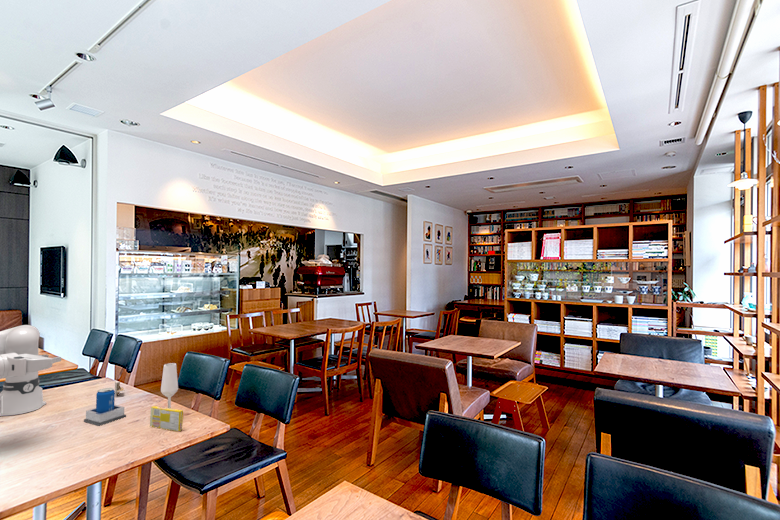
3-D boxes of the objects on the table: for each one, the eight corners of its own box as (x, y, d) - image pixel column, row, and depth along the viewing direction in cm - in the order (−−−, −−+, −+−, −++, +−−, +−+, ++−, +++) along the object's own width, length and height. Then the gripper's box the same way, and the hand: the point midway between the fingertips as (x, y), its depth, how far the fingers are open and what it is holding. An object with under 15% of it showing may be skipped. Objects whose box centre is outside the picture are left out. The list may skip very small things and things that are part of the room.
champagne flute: (161, 423, 165) (163, 367, 165) (158, 418, 170) (159, 364, 170) (179, 419, 169) (180, 364, 170) (175, 415, 174) (176, 361, 175)
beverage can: (103, 420, 165) (104, 392, 165) (91, 419, 166) (92, 391, 167) (117, 415, 171) (118, 388, 171) (106, 413, 173) (106, 386, 173)
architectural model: (122, 394, 204) (122, 380, 205) (124, 397, 199) (124, 383, 199) (114, 395, 202) (115, 381, 202) (116, 398, 197) (116, 384, 197)
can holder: (83, 421, 166) (83, 411, 166) (110, 413, 176) (111, 403, 176) (98, 426, 162) (99, 415, 162) (125, 417, 172) (126, 406, 172)
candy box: (183, 430, 158) (183, 410, 158) (178, 432, 156) (179, 411, 156) (153, 425, 163) (154, 405, 164) (149, 426, 161) (149, 407, 162)
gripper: (-5, 370, 148) (40, 362, 160) (22, 376, 139) (67, 368, 152) (-4, 354, 148) (40, 347, 160) (23, 359, 139) (68, 352, 152)
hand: (53, 357), depth 156 cm, fingers open, 8 cm apart
